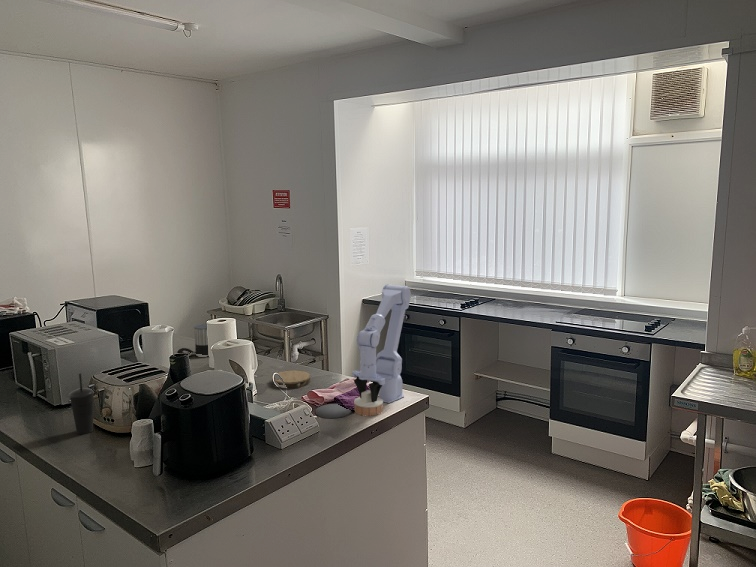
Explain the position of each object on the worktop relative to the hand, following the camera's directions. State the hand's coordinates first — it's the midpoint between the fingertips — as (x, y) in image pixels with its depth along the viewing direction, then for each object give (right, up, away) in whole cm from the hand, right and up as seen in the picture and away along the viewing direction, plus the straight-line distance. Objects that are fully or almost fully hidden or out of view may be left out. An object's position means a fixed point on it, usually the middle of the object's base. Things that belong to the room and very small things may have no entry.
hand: (368, 399), depth 210 cm
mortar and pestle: (-49, -3, +10) cm, 50 cm away
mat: (-13, -4, 0) cm, 13 cm away
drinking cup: (-95, -8, -16) cm, 96 cm away
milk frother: (-85, +6, +72) cm, 112 cm away
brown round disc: (-33, 0, +33) cm, 46 cm away
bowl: (0, -4, +1) cm, 4 cm away
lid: (0, -1, 0) cm, 1 cm away
